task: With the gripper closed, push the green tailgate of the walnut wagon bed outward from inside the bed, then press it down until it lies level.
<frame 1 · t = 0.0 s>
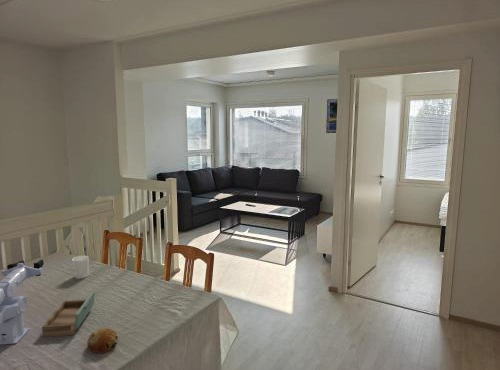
hand: (32, 262, 146), 22 cm above the table, tool horizontal, fingers open, 7 cm apart
white cup: (81, 276, 184), on the table
tailgate: (86, 309, 141), point 5 cm above the table, hinge at 8.0°
wagon bed: (69, 321, 141), on the table
bread roll: (103, 346, 125), on the table
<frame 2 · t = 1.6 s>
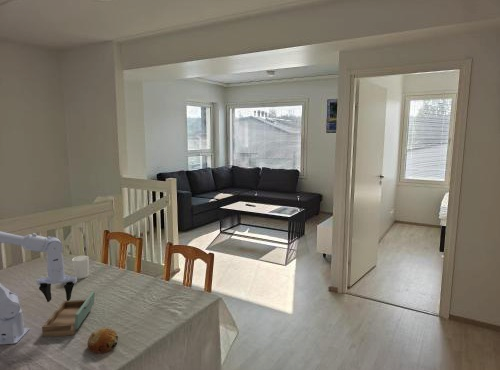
hand: (59, 300, 139), 9 cm above the table, tool pointing down, fingers open, 7 cm apart
nothing on the table moved.
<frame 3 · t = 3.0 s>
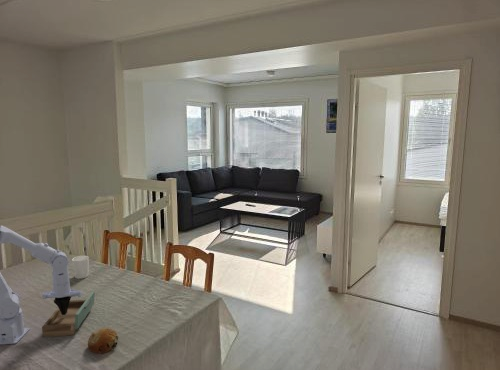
hand: (64, 313, 140), 4 cm above the table, tool pointing down, fingers closed
nothing on the table moved.
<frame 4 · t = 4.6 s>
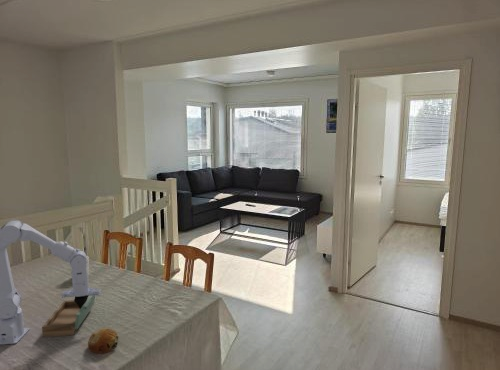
hand: (83, 312, 141), 4 cm above the table, tool pointing down, fingers closed, pressing on tailgate
tailgate: (86, 309, 141), point 5 cm above the table, hinge at 11.3°, touching gripper
everything else where it was.
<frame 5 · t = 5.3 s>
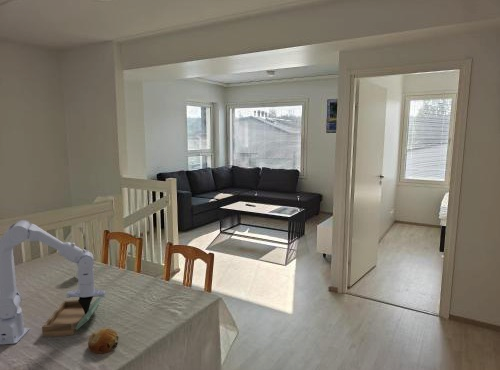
hand: (87, 313, 141), 3 cm above the table, tool pointing down, fingers closed, pressing on tailgate
tailgate: (90, 311, 141), point 4 cm above the table, hinge at 50.0°, touching gripper
everything else where it was.
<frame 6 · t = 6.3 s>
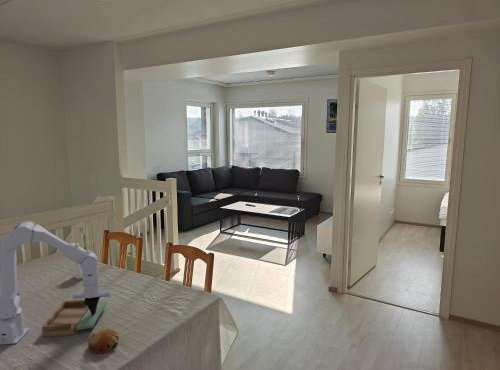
hand: (93, 313, 141), 3 cm above the table, tool pointing down, fingers closed, pressing on tailgate
tailgate: (92, 315, 141), point 2 cm above the table, hinge at 84.5°, touching gripper
everything else where it was.
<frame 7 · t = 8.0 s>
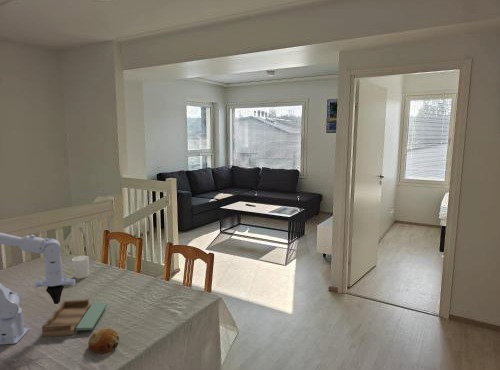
hand: (57, 302, 137), 9 cm above the table, tool pointing down, fingers closed
tailgate: (92, 316, 141), point 2 cm above the table, hinge at 93.5°
everything else where it was.
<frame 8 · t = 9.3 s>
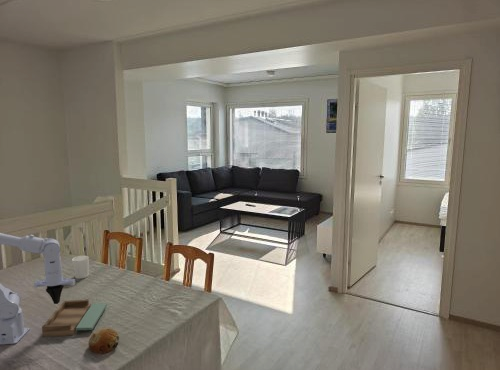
hand: (56, 302, 137), 9 cm above the table, tool pointing down, fingers closed
nothing on the table moved.
at the end: tailgate at +94° (first picture: +8°); bread roll moved 0.7 cm from its start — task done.
